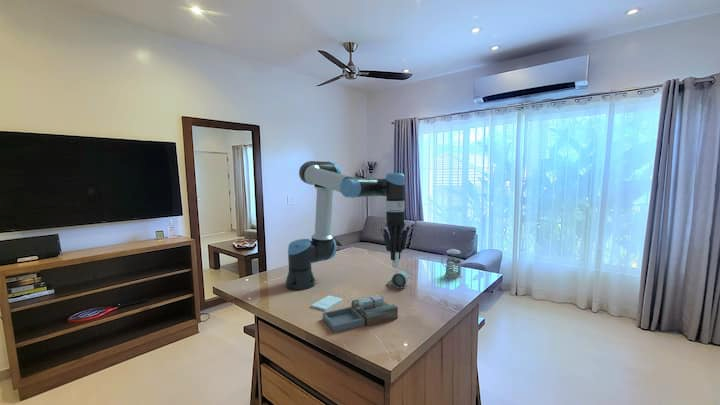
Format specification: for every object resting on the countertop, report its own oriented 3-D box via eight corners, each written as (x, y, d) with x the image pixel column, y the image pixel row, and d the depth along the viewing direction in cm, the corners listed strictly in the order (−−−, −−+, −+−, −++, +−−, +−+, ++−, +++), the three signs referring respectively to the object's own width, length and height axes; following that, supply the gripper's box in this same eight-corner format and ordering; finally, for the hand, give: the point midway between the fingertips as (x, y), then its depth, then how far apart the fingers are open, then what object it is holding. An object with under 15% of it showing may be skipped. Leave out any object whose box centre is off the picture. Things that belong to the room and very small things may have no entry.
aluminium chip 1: (359, 308, 118) (358, 298, 118) (367, 306, 120) (367, 296, 119) (363, 312, 114) (363, 302, 114) (372, 310, 116) (372, 300, 116)
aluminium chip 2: (370, 306, 120) (369, 296, 120) (378, 304, 122) (378, 294, 122) (374, 309, 117) (374, 299, 116) (383, 307, 118) (383, 298, 118)
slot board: (351, 311, 122) (351, 300, 122) (379, 305, 128) (379, 295, 128) (367, 325, 110) (367, 314, 109) (397, 318, 116) (397, 307, 115)
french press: (464, 278, 163) (465, 233, 161) (443, 278, 163) (444, 233, 161) (459, 272, 173) (459, 230, 171) (439, 272, 173) (439, 230, 171)
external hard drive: (342, 302, 133) (325, 312, 123) (328, 298, 137) (310, 308, 127) (342, 298, 133) (325, 308, 122) (328, 295, 137) (310, 304, 127)
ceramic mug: (409, 283, 154) (408, 269, 154) (406, 289, 147) (406, 274, 146) (389, 282, 158) (389, 268, 158) (385, 287, 150) (385, 272, 150)
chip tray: (322, 319, 115) (322, 312, 115) (351, 312, 121) (351, 306, 121) (333, 332, 105) (333, 326, 105) (364, 325, 110) (364, 318, 110)
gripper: (386, 212, 114) (386, 272, 116) (413, 210, 120) (413, 267, 122) (377, 211, 121) (377, 267, 123) (403, 209, 127) (403, 263, 128)
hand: (395, 267), depth 122 cm, fingers closed
